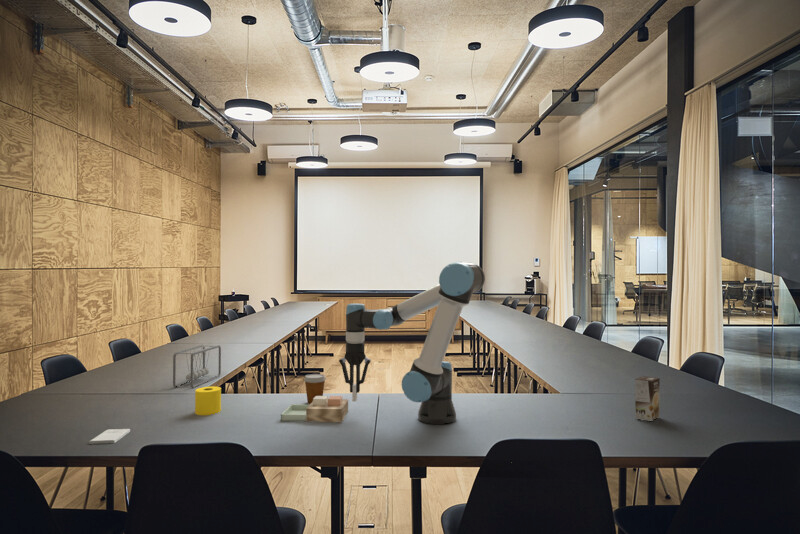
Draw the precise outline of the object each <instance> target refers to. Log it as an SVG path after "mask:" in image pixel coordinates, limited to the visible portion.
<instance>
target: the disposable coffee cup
mask: <svg viewBox="0 0 800 534" xmlns="http://www.w3.org/2000/svg"><path fill="white" fill-rule="evenodd" d="M326 379H327V378H326V376H325V374H322V373H312V374H306V375H304V378H303V380H304V383H305V392H306V393H305V394H306V398H307V399H306V400H307V405H310V404H311V403H312V402H313V399H314V397H315V396H324V389H325V388H324V387H325V383H326Z"/></svg>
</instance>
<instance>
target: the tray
mask: <svg viewBox="0 0 800 534" xmlns="http://www.w3.org/2000/svg"><path fill="white" fill-rule="evenodd" d="M309 405H310V404H298V403H297V404H295V403H294V404H290V405H289V406H288V407H287V408H286V409H285V410H284V411H283V412H281V414H280V421H281V422H307V421H306V408H307V407H308V406H309Z"/></svg>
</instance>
